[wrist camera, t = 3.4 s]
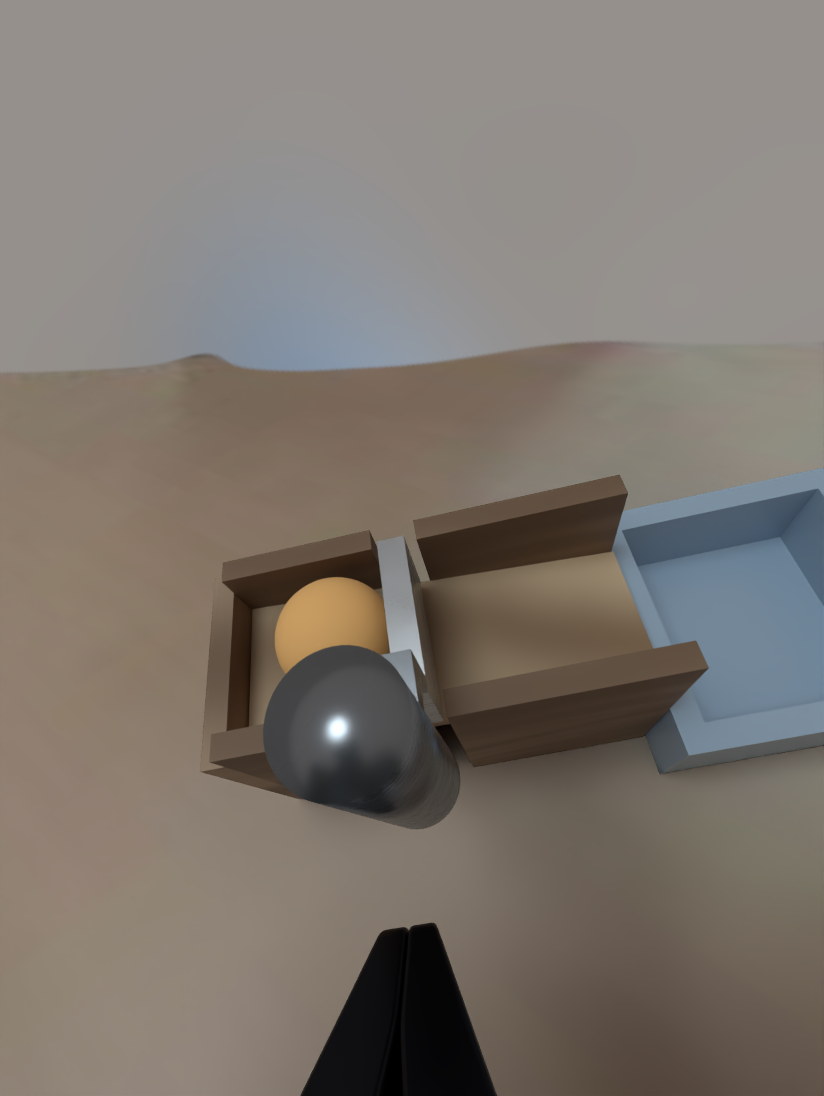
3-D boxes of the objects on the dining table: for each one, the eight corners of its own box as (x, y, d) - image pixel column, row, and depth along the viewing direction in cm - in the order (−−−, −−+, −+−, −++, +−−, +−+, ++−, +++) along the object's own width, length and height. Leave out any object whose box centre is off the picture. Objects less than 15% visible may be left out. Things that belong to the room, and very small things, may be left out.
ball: (361, 735, 15) (335, 703, 12) (272, 676, 16) (229, 634, 14) (423, 638, 17) (413, 589, 14) (337, 591, 18) (311, 536, 15)
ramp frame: (644, 736, 19) (711, 667, 12) (297, 798, 20) (183, 767, 13) (591, 591, 22) (622, 474, 15) (295, 652, 23) (202, 567, 16)
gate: (481, 831, 13) (422, 788, 6) (413, 842, 14) (261, 817, 6) (435, 579, 17) (361, 346, 10) (383, 590, 18) (268, 370, 10)
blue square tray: (917, 729, 18) (1005, 699, 14) (659, 774, 18) (689, 755, 15) (784, 523, 22) (828, 466, 19) (583, 565, 23) (592, 517, 20)
